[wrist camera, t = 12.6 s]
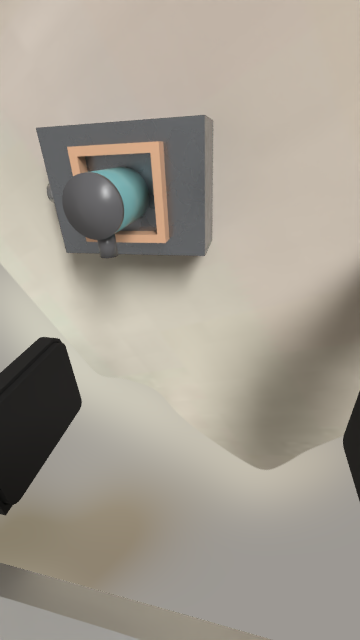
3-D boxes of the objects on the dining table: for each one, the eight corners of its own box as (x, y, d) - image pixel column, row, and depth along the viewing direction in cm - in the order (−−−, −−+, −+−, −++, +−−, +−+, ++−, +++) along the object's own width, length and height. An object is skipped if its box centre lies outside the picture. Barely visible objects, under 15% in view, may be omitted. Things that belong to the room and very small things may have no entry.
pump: (146, 165, 27) (115, 170, 21) (153, 238, 30) (129, 261, 25) (97, 168, 28) (54, 174, 22) (109, 238, 32) (76, 260, 26)
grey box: (213, 120, 29) (202, 113, 23) (211, 240, 35) (202, 260, 29) (53, 131, 33) (6, 128, 27) (77, 238, 39) (43, 256, 33)
